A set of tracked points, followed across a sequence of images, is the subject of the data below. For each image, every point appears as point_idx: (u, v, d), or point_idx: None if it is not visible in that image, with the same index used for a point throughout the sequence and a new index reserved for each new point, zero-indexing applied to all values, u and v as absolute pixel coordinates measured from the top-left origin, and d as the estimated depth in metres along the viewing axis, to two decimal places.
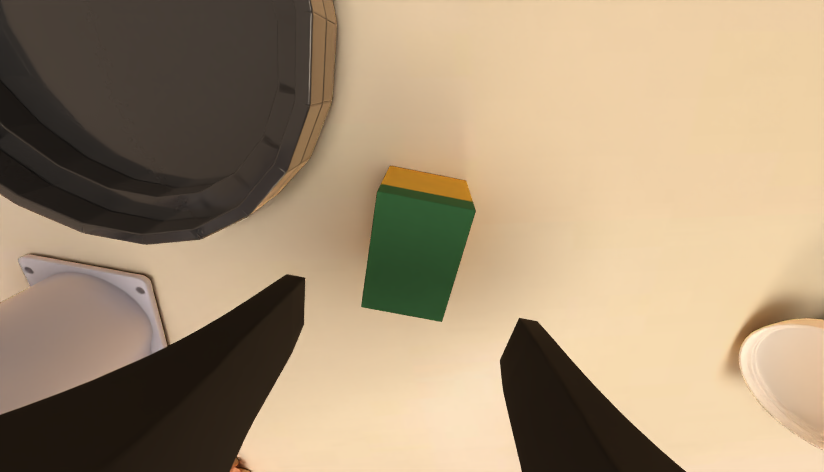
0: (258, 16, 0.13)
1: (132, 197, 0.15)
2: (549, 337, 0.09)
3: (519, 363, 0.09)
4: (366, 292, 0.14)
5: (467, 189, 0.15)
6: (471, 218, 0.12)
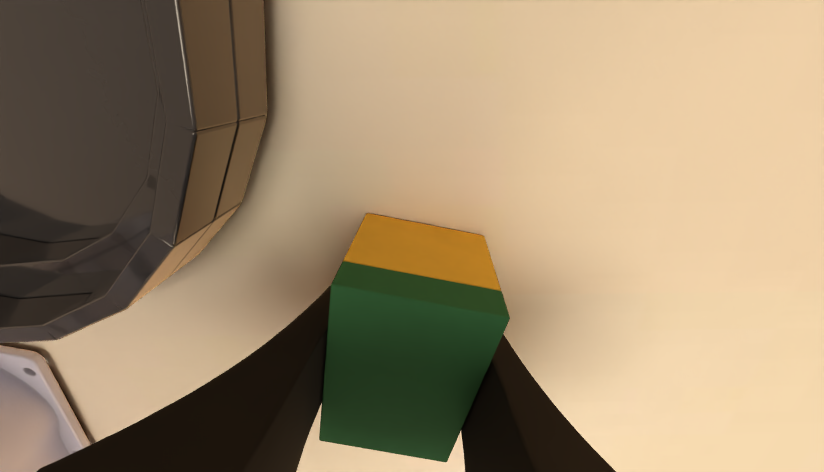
0: None
1: None
2: None
3: None
4: (325, 423, 0.09)
5: (488, 257, 0.09)
6: (501, 330, 0.07)
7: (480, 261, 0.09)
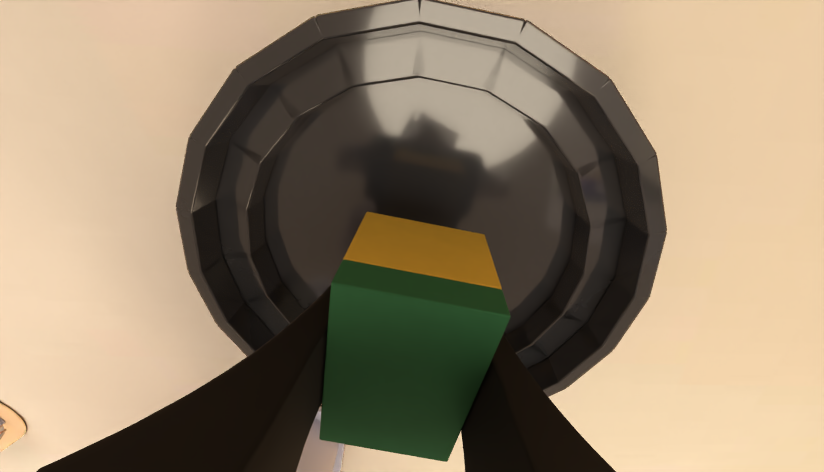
0: (541, 250, 0.14)
1: None
2: None
3: None
4: (325, 422, 0.09)
5: (489, 256, 0.09)
6: (502, 328, 0.07)
7: (481, 260, 0.09)
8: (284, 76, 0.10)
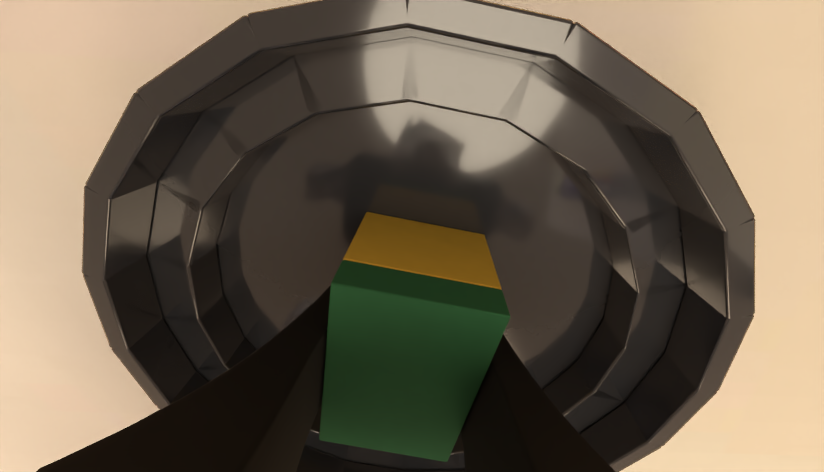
0: (567, 311, 0.12)
1: (376, 453, 0.14)
2: None
3: None
4: (325, 423, 0.09)
5: (489, 256, 0.09)
6: (502, 328, 0.07)
7: (481, 260, 0.09)
8: (221, 99, 0.07)
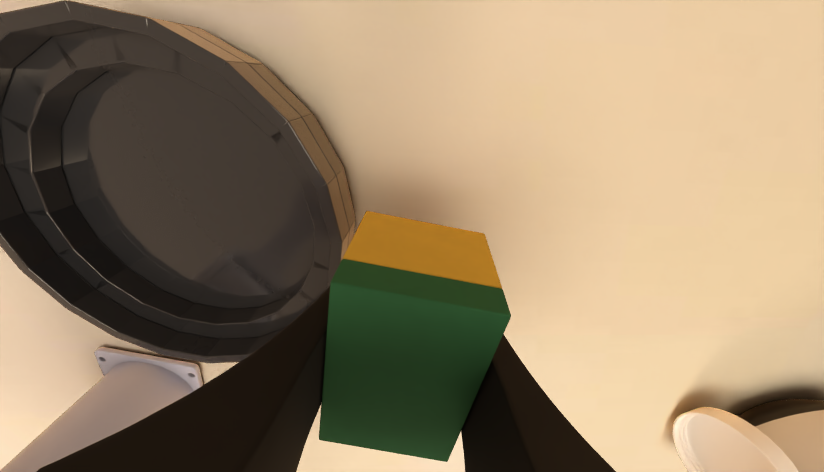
0: (298, 211, 0.17)
1: (197, 324, 0.20)
2: None
3: None
4: (325, 422, 0.09)
5: (489, 255, 0.09)
6: (502, 328, 0.07)
7: (481, 259, 0.09)
8: (20, 61, 0.13)
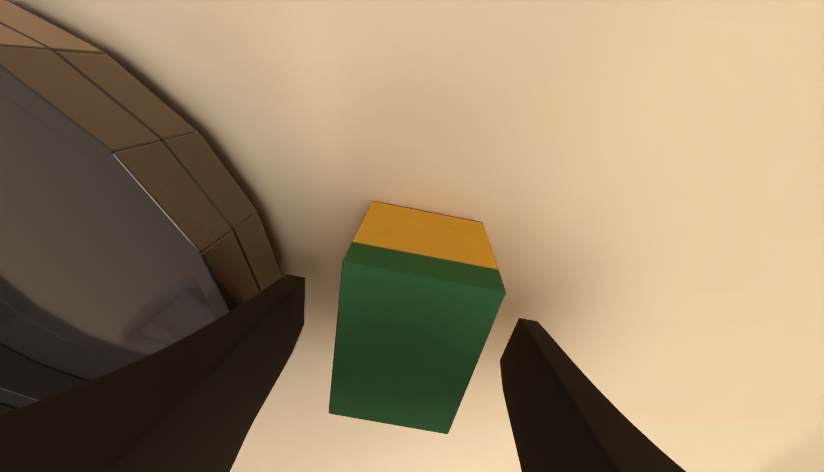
0: None
1: None
2: (549, 337, 0.09)
3: (519, 363, 0.09)
4: (335, 396, 0.10)
5: (486, 241, 0.10)
6: (498, 303, 0.08)
7: (479, 244, 0.09)
8: None
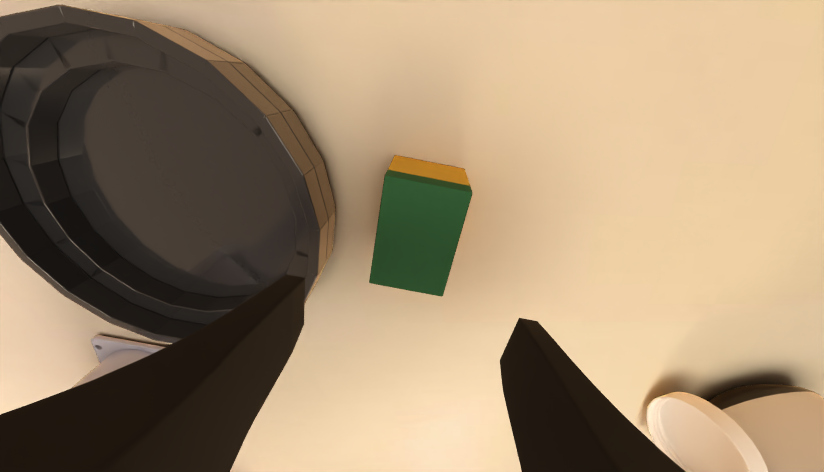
0: (281, 202, 0.18)
1: (187, 311, 0.21)
2: (549, 337, 0.09)
3: (519, 363, 0.09)
4: (374, 269, 0.16)
5: (465, 175, 0.16)
6: (468, 199, 0.14)
7: (460, 176, 0.16)
8: (18, 61, 0.14)
